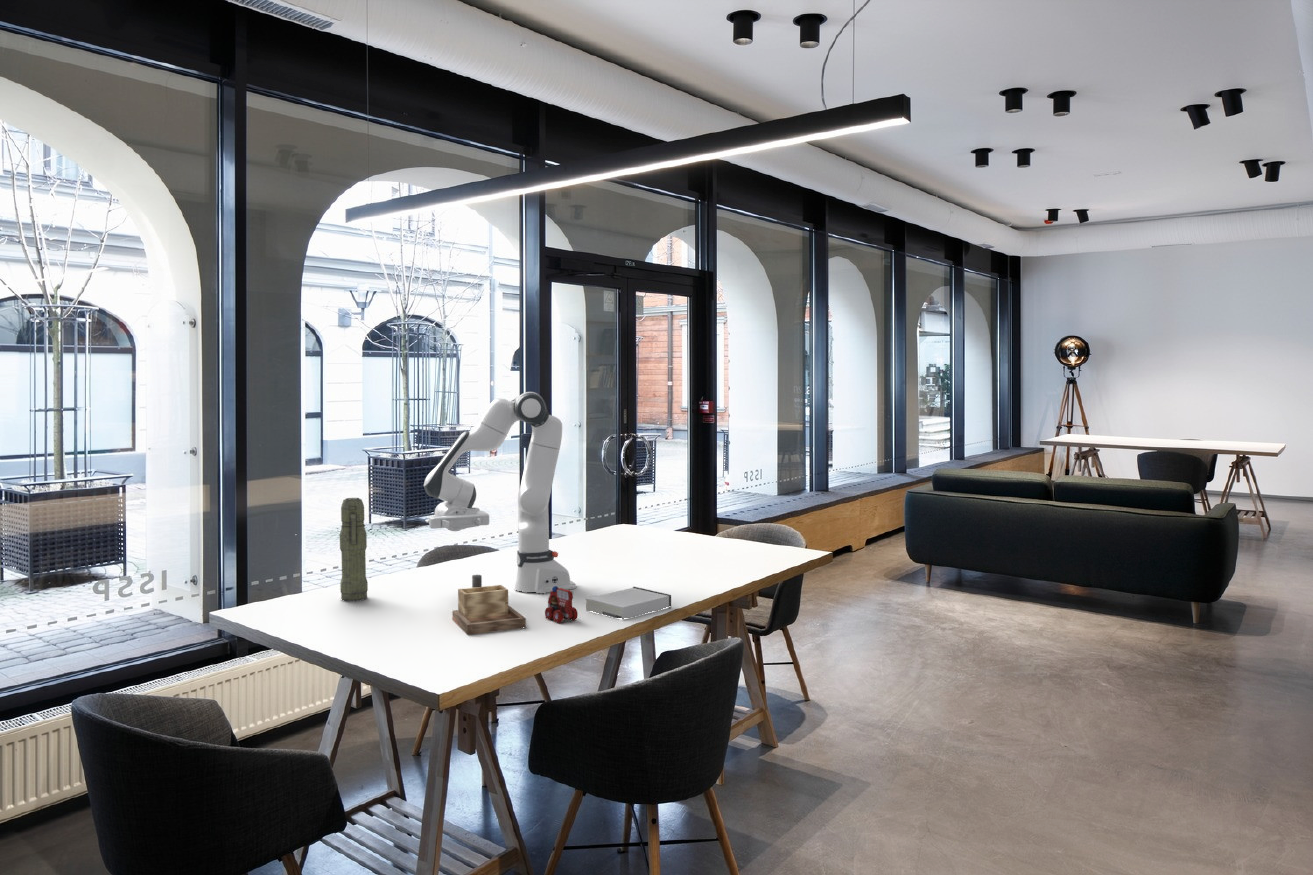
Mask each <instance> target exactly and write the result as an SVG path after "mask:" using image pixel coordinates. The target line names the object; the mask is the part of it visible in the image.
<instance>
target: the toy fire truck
mask: <svg viewBox="0 0 1313 875" xmlns="http://www.w3.org/2000/svg"><path fill="white" fill-rule="evenodd" d="M573 599H574V595H573V591H572V590H570V589H569V590H566V589H562V588H558V587H557V586H554V587H553V588H552V591H551V592H550V593H549V597H548V600H547V607H546V608H545V610H544V615H545V619H547V618H548V619H552V620H553V621H554V623H556V622H557V623H556V624H561V623H563V622H564V620H567V619H568V620H570V619H572V620H571V621H576V620H577V619H578V616H579V615H578V614H579V613H578V610H577V609H576V607H574V606H573ZM548 619H547V620H548ZM575 619H576V620H575Z"/></svg>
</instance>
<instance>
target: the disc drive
mask: <svg viewBox="0 0 1313 875" xmlns="http://www.w3.org/2000/svg"><path fill="white" fill-rule="evenodd" d="M585 601H586V602H585V605H586V606H585V608H586V610H585V611H586V612H588V611H593V612H596V613H599V614H603V615H607V616H610V617H609V618H611V617H613V618H612V619H615V618H622V619H624V618H630V619H632V618H631V617H634V618H636V617H635V616H638V617H640V616H639V615H642V614H645V613H648V612H652V611H657V612H659V611H658V610H661V609H663V608H666V607H669V606H671V607H672V595H671V594H668V593H665V592H664V593H663V592H659V591H655V590H651V589H646V588H642V587H637V586H632V587H630V588H626V589H622V590H618V591H612V592H607V593H604V594H599V595H596V596H595V595H594V596H590V597H586V598H585ZM661 611H662V610H661ZM599 614H598V615H599ZM603 615H602V616H603ZM607 616H606V617H607ZM642 616H643V615H642Z"/></svg>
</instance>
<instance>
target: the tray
mask: <svg viewBox="0 0 1313 875" xmlns="http://www.w3.org/2000/svg"><path fill="white" fill-rule="evenodd" d="M451 615H452V621H453V622H454V623H455V624H456V625H457V626H458V627H459V628H460V629H461V630H462V631H463V632H464V633H465V634H466V635H468V636H469V635H476V634H485V633H493V632H495V633H496V632H502V631H509V630H510V631H511V630H518V628H519V629H524V628H523V627H527V626H526V624H527V619H526V618H527V617H525V616H524V615H522V614H521V613H519V611H517V610H516V609H514V608H513V607H512V606H510V605H509V604H508V615H503V616H494V617H486V618H477V619H468V620H467V619H466V618H465V617H464V616H463V615H462V614H461V613H460V612H459V611H458V609H456V610H455V609H453V610H452V614H451Z"/></svg>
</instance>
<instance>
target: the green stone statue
mask: <svg viewBox="0 0 1313 875" xmlns="http://www.w3.org/2000/svg"><path fill="white" fill-rule="evenodd" d="M341 503H342V504H341V507H340V517H341V518H340V519H341V525H340V527H341V529H340V531H339V549H340V551H341V552H340V553H341V579H340V584H339V585H340V586H339V587H340V588H339V590H340V594H341V595H340V596H341V597H340V600H341V599H342V600H341V601H343V600H344V601H343V602H360V600H361V601H364V600H366V598H367V599H368V591H369V588H368V587H369V586H368V585H369V584H368V579H367V577H366V576H367V573H366V572H367V569H366V565H367V563H366V561H367V560H366V549H367V547H368V545H367V544H368V543H367V542H368V541H367V540H368V538H367V530H366V528H365V526H366V525H365V506H364V502H363V499H362V498H359V497H348V498H345V499H343V500H342V502H341Z"/></svg>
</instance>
